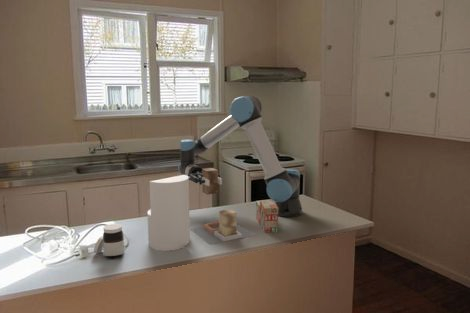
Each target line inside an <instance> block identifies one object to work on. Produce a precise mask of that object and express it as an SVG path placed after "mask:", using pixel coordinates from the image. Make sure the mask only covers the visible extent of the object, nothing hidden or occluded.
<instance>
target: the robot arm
mask: <svg viewBox="0 0 470 313" xmlns="http://www.w3.org/2000/svg"><path fill="white" fill-rule="evenodd" d="M262 109H263V106H262V102H261V100H260V99H259V98H258V97H256V96H253V95H241V96H238V97H236V98H234V99H233V101H232V102H231V104H230V107H229V113H230V115H229V116H227V117H226V118H225V119H223V120H222V121H220V122H219V123H217V124H216V125H215V126H214V127H213V128H211V129H210V130H208V131H207V132H206V133H205V134H203V135H202V136H201V137H199V138H198V139H196V140H193V139H181V140H180V142H179V144H180V145H179V157H180V158H179V159H180V163H179V164H178V167H177V171H178V172H179V173H180V175H187V176H188V177H189V181H191V182H193V183H194V184H198V183H199V186H200V185H202V183H203V184H205V185H207V186H210V180H208V179H206V178H204V177H202V169H203V168H202V167H201V166H199V165H197V164H196V159H195V158H196V157H195V156H198V155H202V154H204V153H206V152H207V151H208V149H210V148H211V147H213V146H214V145H216V143H218V142H220V141H221V140H222V139H224V138H225V137H226V136H228V135H230V134H231V133H232V132H233V131H235V130H237V129H238V128H239V127H240V129H242V130H244V131H245V133H246V136H247V137H248V140H249V142H250V144H251V146H252V149H253V151H254V154H255V155H256V157H257V159H258V161H259V164H260V165H261V168H262V170H263V172H264V178H263V180H264V183H265V184H266V194H267V196H268V198H269V199H270V200H273V201H274V202H275V204H276V205H277V207H278V217H279V216H280V217H285V218H293V217H294V218H295V217H299V216H301V215H302V214H303V207H302V203H301V201H300V186H301V185H300V184H301V182H300V181H301V180H300V179H301V172H300V170H298V169H292V168H284V167H282V165H281V163H280V160H279V158H278V156H277V154H276V153H275V150H274V148H273V146H272V144H271V141H270V138H269V137H268V135H267V133H266V131H265V128H264V126H263V124H262V119H263V117H262V114H261V113H262V111H263V110H262ZM218 185H220V186H221V185H223V178H221V175H220V174H218Z"/></svg>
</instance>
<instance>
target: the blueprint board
mask: <svg viewBox="0 0 470 313" xmlns="http://www.w3.org/2000/svg"><path fill="white" fill-rule="evenodd" d="M191 231H192V232H193V233H194V234H195V235H196V236H198V237H199V238H201V239H202V240H203V241H205V242H206V243H207V244H208V245H217V244H220V243H225V242H230V241H234V240H240V239H244V238H249V237H253V236H255V235H256V234H255V233H253V232H251V231H250V230H248V229H246V228H244V227H243V226H241V225H239V224H238V223H236V234H235V235H230V236H226V237H224V236H223V235H221V234H220V233H219V221H215V222H213V221H212V222H208V223H203V226H202V227H198V228H197V227H196V228H192V229H190V232H191Z"/></svg>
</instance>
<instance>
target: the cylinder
mask: <svg viewBox="0 0 470 313" xmlns="http://www.w3.org/2000/svg"><path fill="white" fill-rule="evenodd" d="M189 184H190V180H189V177H188V176H187V175H182V174H179V175H175V176H170V177H166V178H160V179H155V180H150V181H149V200H150V201H149V202H150V209H148V210H147V212H146V213H147V214H146V215H147V234H148V235H147V236H148V238H147V239H148V240H147V241H148V247H149V248H151V249H153V250H155V251H159V252H160V251H163V252H168V251H169V250H172V251H176V250H177V249H178V250H181V249H184V248H186V247H187V245H188V244H189V243H190V241H191V230H190V227H191V225H190V224H191V223H190V185H189ZM183 247H184V248H183ZM180 248H181V249H180Z"/></svg>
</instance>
